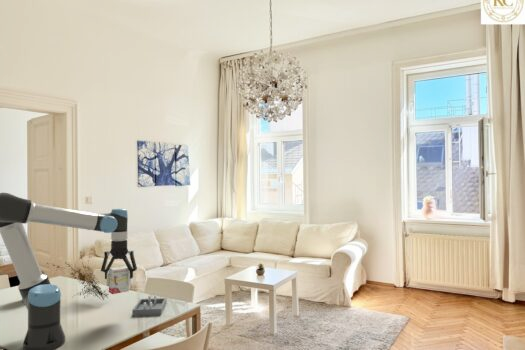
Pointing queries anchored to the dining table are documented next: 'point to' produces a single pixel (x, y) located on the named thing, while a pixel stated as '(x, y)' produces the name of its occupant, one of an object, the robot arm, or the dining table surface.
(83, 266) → the dried plant
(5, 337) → the dining table surface
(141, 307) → the pin tray
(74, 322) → the dining table surface
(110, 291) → the ink box
